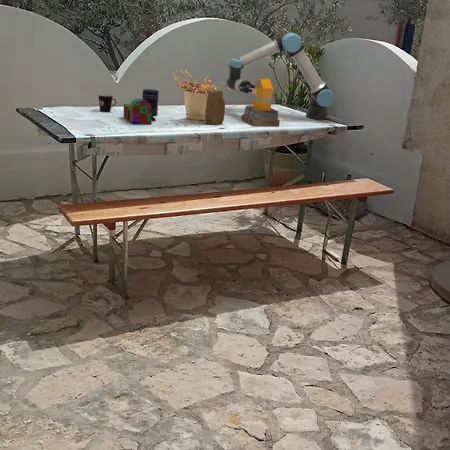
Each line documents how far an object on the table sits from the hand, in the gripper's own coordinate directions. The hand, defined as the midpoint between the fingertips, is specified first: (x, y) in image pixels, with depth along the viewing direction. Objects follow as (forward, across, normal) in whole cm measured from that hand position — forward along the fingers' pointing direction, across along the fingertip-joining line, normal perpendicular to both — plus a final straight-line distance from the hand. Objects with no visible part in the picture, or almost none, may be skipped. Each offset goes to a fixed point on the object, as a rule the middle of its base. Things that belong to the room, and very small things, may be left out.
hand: (264, 91), depth 372 cm
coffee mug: (-53, +81, -20) cm, 99 cm away
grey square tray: (-1, 0, -20) cm, 20 cm away
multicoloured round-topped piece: (-26, +72, -21) cm, 80 cm away
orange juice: (-1, 0, -12) cm, 12 cm away
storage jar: (-40, +58, -20) cm, 73 cm away
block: (-8, +31, -20) cm, 38 cm away
